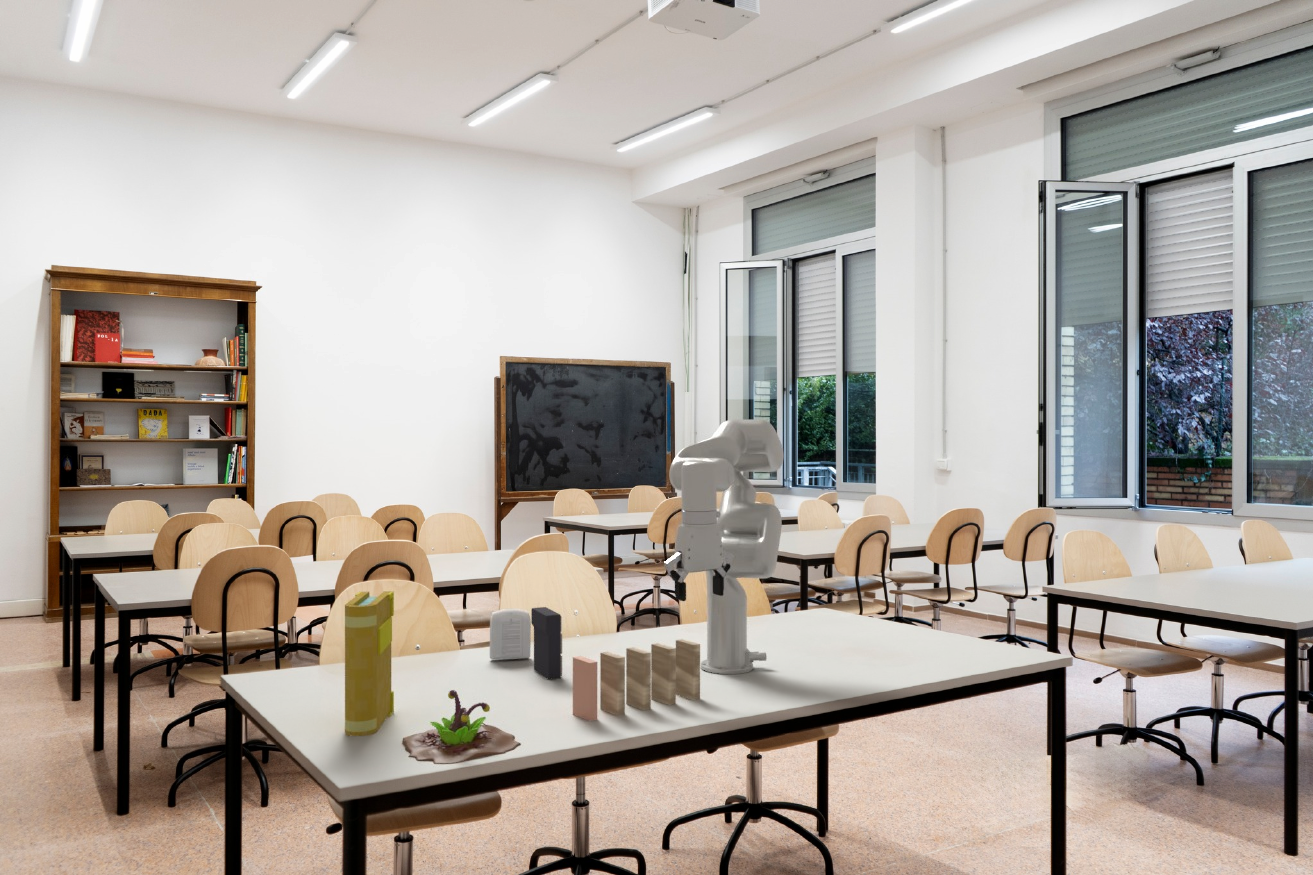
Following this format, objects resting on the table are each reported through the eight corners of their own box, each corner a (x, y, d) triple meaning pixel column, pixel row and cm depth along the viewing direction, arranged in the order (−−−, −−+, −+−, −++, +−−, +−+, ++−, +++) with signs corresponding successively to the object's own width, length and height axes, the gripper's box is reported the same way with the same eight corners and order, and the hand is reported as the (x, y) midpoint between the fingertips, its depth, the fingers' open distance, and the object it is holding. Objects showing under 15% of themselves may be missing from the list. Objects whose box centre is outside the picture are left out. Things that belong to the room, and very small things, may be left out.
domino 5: (682, 694, 209) (682, 639, 209) (700, 700, 204) (700, 643, 204) (675, 695, 208) (675, 640, 208) (693, 702, 203) (693, 645, 203)
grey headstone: (529, 654, 248) (529, 606, 248) (531, 658, 243) (531, 609, 243) (489, 656, 245) (489, 608, 245) (490, 660, 241) (490, 611, 241)
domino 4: (658, 699, 205) (658, 643, 205) (675, 706, 200) (675, 648, 200) (651, 701, 204) (651, 644, 204) (668, 707, 199) (668, 649, 199)
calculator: (564, 678, 224) (564, 614, 224) (546, 681, 222) (546, 615, 222) (548, 668, 234) (548, 606, 233) (531, 670, 232) (531, 607, 232)
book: (359, 715, 195) (359, 591, 194) (393, 715, 195) (393, 591, 195) (339, 742, 178) (339, 606, 178) (376, 741, 178) (376, 606, 178)
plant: (486, 730, 186) (486, 672, 186) (534, 758, 170) (534, 695, 170) (384, 750, 175) (384, 688, 175) (426, 782, 159) (426, 714, 159)
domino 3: (633, 704, 201) (633, 647, 201) (650, 711, 196) (650, 652, 196) (626, 706, 200) (626, 648, 200) (643, 713, 195) (643, 653, 195)
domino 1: (580, 715, 193) (580, 655, 193) (597, 723, 189) (597, 661, 188) (572, 717, 192) (572, 657, 192) (589, 724, 187) (589, 663, 187)
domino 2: (607, 710, 197) (607, 651, 197) (624, 717, 192) (624, 657, 192) (600, 711, 196) (600, 652, 196) (617, 718, 191) (617, 658, 191)
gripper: (721, 513, 215) (722, 590, 216) (655, 519, 206) (656, 599, 207) (742, 517, 209) (742, 595, 210) (674, 523, 200) (675, 605, 201)
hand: (699, 597), depth 208 cm, fingers open, 9 cm apart
